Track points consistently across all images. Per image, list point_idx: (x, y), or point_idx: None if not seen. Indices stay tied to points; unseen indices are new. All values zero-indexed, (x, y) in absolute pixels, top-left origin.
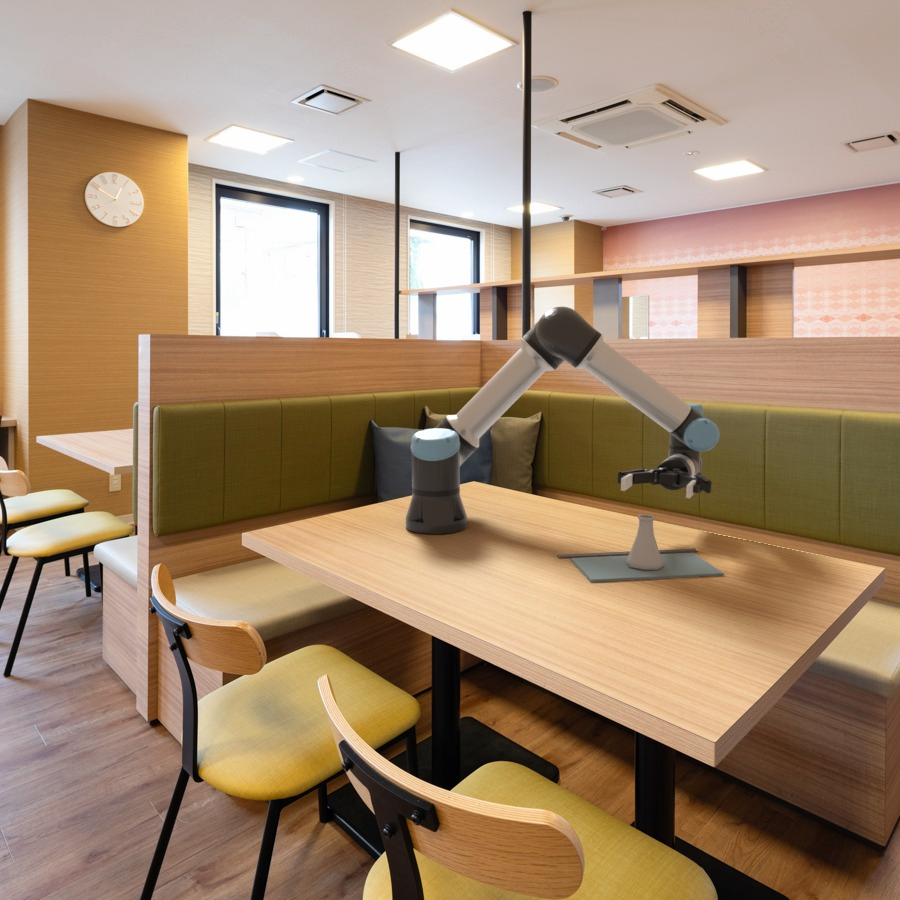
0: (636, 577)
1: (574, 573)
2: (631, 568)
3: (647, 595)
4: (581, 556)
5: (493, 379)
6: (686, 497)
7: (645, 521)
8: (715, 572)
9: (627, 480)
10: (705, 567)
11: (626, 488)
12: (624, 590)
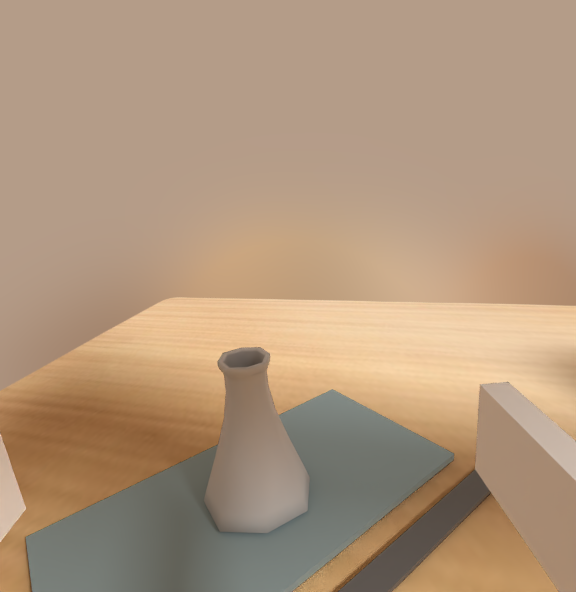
0: None
1: (384, 409)
2: None
3: None
4: (454, 488)
5: None
6: (20, 506)
7: (243, 359)
8: (52, 531)
9: (530, 469)
10: (68, 560)
11: (513, 516)
12: None
